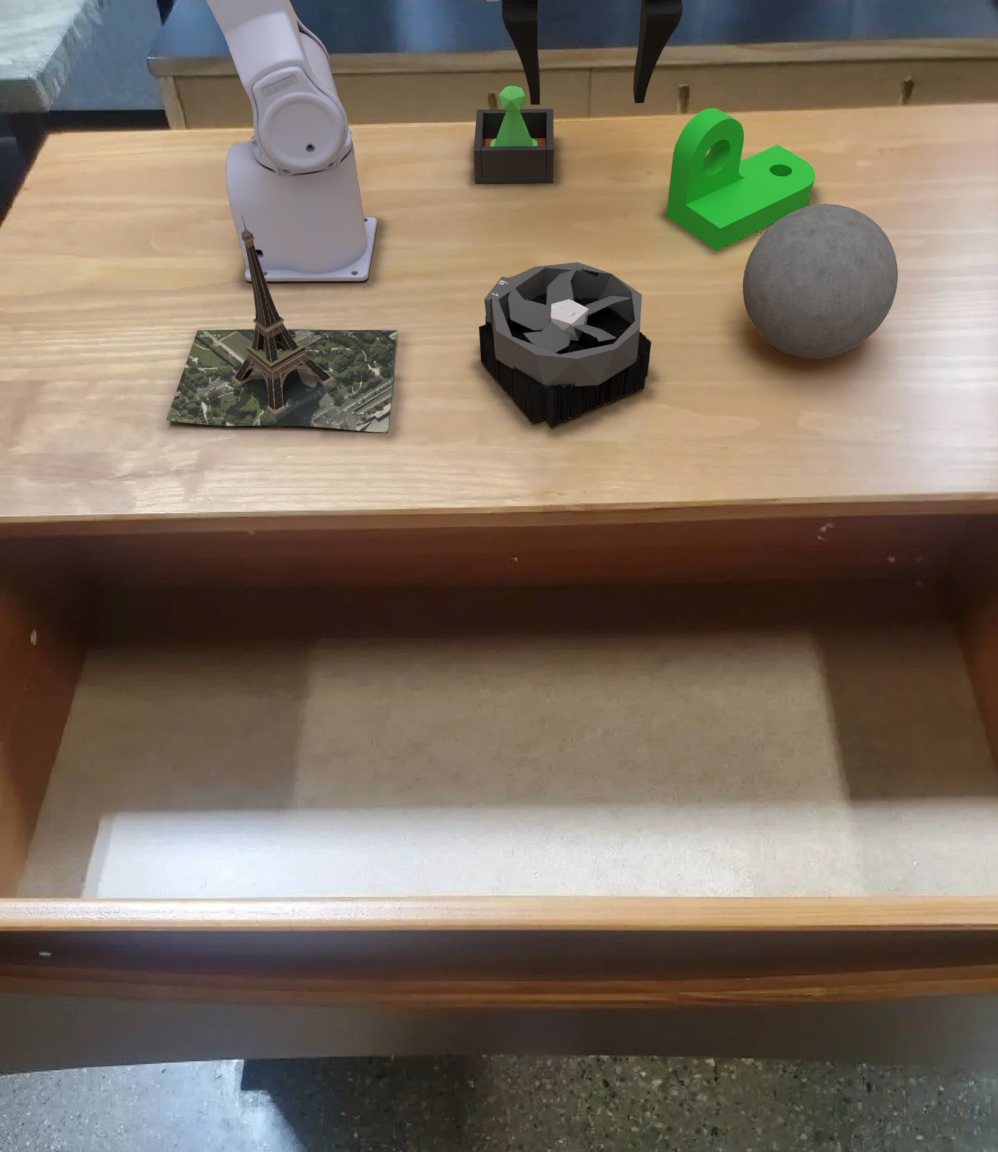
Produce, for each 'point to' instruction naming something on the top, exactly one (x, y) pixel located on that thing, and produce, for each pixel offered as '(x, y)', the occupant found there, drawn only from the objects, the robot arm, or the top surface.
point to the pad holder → (514, 149)
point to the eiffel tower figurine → (286, 372)
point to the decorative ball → (820, 281)
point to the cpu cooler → (564, 340)
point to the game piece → (513, 120)
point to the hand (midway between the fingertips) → (586, 97)
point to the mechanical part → (731, 182)
